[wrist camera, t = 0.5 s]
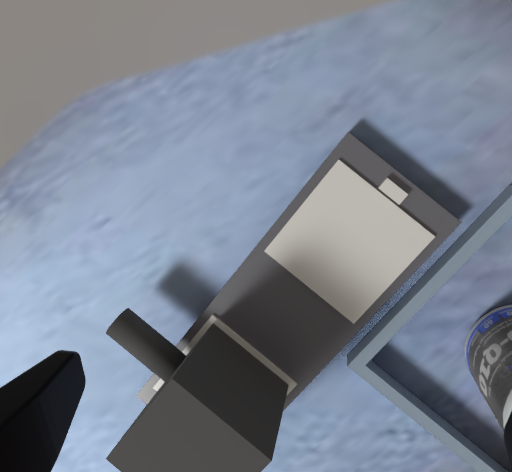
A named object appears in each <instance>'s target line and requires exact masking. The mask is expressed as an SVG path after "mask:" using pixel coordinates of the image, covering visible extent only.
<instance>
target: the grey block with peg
mask: <svg viewBox="0 0 512 472" xmlns="http://www.w3.org/2000/svg"><path fill="white" fill-rule="evenodd" d="M106 334H107V335H109V336H110V337H111V338H112V339H114V340H115V341H116V342H117V343H118V344H120V345H121V346H122V347H123V348H124V349H126V350H127V351H128V352H129V353H130V354H132V355H133V356H134V357H135V358H136V359H138V360H139V361H140V362H141V363H143V364H144V365H145V366H146V367H147V368H149V369H150V370H151V371H152V372H153V373H155V374H156V375H157V376H158V377H159V378H161V379H162V380H163V381H164V384H163V385H162V386H161V387H160V388H159V390H158V391H157V392H156V394H155V395H154V396H153V398H152V399H151V400H150V402H149V403H148V404H147V405H146V407H145V408H144V409H143V411H142V412H141V413H140V415H139V416H138V417H137V419H136V420H135V421H134V423H133V424H132V425H131V426H130V428H129V429H128V430H127V432H126V433H125V434H124V436H123V437H122V438H121V440H120V441H119V442H118V444H117V445H116V446H115V447H114V449H113V450H112V451H111V453H110V454H109V455H108V457H107V458H106V459H107V460H108V461H109V462H110V463H111V464H113V465H114V466H115V467H116V468H117V469H119V470H120V471H121V472H261V471H262V470H263V469H264V468H265V467H266V466H267V465H268V464H269V463H270V462H271V461H272V457H273V453H274V448H275V444H276V439H277V435H278V431H279V426H280V422H281V417H282V413H283V408H284V404H285V400H286V395H287V391H288V386H289V385H288V384H287V383H286V382H285V381H283V380H282V379H281V378H280V377H279V376H277V375H276V374H275V373H274V372H273V371H271V370H270V369H269V368H268V367H266V366H265V365H264V364H263V363H262V362H260V361H259V360H258V359H257V358H255V357H254V356H253V355H252V354H251V353H249V352H248V351H247V350H246V349H244V348H243V347H242V346H241V345H240V344H238V343H237V342H236V341H235V340H233V339H232V338H231V337H230V336H229V335H227V334H226V333H225V332H224V331H222V330H221V329H220V328H219V327H218V326H216V325H215V324H214V323H213V324H212V325H211V326H210V327H209V329H208V330H207V331H206V332H205V333H204V335H203V336H202V337H201V338H200V340H199V341H198V342H197V343H196V344H195V346H194V347H193V348H192V349H191V351H190V352H189V353H188V354H187V355H185V354H184V353H182V352H181V351H180V350H179V349H178V348H176V347H175V346H174V345H173V344H172V343H170V342H169V341H168V340H167V339H165V338H164V337H163V336H162V335H161V334H159V333H158V332H157V331H156V330H155V329H153V328H152V327H151V326H150V325H148V324H147V323H146V322H145V321H144V320H142V319H141V318H140V317H139V316H138V315H136V314H135V313H134V312H133V311H131V310H130V309H129V308H127V309H126V310H125V311H123V312H122V313H121V314H120V315H119V316H118V317H117V318H116V320H115V321H114V322H113V323H112V324H111V326H110V327H109V328H108V330H107V332H106Z"/></svg>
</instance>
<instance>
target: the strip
mask: <svg viewBox="0 0 512 472" xmlns="http://www.w3.org/2000/svg"><path fill="white" fill-rule="evenodd" d="M460 223H461V222H460V221H459V220H458V219H457V218H455V217H454V216H453V215H452V214H450V213H449V212H448V211H447V210H445V209H444V208H443V207H442V206H440V205H439V204H438V203H437V202H435V201H434V200H433V199H432V198H430V197H429V196H428V195H427V194H425V193H424V192H423V191H422V190H420V189H419V188H418V187H417V186H415V185H414V184H413V183H412V182H410V181H409V180H408V179H406V178H405V177H404V176H403V175H401V174H400V173H399V172H398V171H396V170H395V169H394V168H393V167H391V166H390V165H389V164H388V163H386V162H385V161H384V160H383V159H381V158H380V157H379V156H378V155H376V154H375V153H374V152H373V151H371V150H370V149H369V148H368V147H366V146H365V145H364V144H363V143H361V142H360V141H359V140H358V139H356V138H355V137H354V136H353V135H351V134H350V133H349V132H348V133H347V134H346V135H345V137H344V138H343V139H342V140H341V142H340V143H339V144H338V145H337V146H336V148H335V149H334V150H333V151H332V153H331V154H330V155H329V156H328V158H327V159H326V160H325V161H324V163H323V164H322V165H321V166H320V168H319V169H318V170H317V171H316V173H315V174H314V175H313V176H312V178H311V179H310V180H309V181H308V183H307V184H306V185H305V186H304V187H303V189H302V190H301V191H300V192H299V194H298V195H297V196H296V197H295V199H294V200H293V201H292V202H291V204H290V205H289V206H288V207H287V209H286V210H285V211H284V212H283V214H282V215H281V216H280V217H279V219H278V220H277V221H276V222H275V224H274V225H273V226H272V227H271V228H270V230H269V231H268V232H267V233H266V235H265V236H264V237H263V238H262V240H261V241H260V242H259V243H258V245H257V246H256V247H255V248H254V250H253V251H252V252H251V253H250V255H249V256H248V257H247V258H246V260H245V261H244V262H243V263H242V265H241V266H240V267H239V268H238V270H237V271H236V272H235V273H234V274H233V276H232V277H231V278H230V279H229V281H228V282H227V283H226V284H225V286H224V287H223V288H222V289H221V291H220V292H219V293H218V294H217V296H216V297H215V298H214V299H213V301H212V302H211V303H210V304H209V306H208V307H207V308H206V309H205V311H204V312H203V313H202V314H201V315H200V317H199V318H198V319H197V320H196V322H195V323H194V324H193V325H192V327H191V328H190V329H189V330H188V332H187V333H186V334H185V335H184V337H183V338H182V339H181V340H180V342H179V343H178V344H177V345H176V348H178V349H179V350H180V351H181V352H182V353H184V354H185V355H187V354H188V353H189V352H190V351H191V349H192V348H193V347H194V346H195V344H196V343H197V342H198V341H199V340H200V338H201V337H202V336H203V335H204V333H205V332H206V331H207V330H208V329H209V327H210V326H211V325H212V324H213V323H214V324H215V325H216V326H218V327H219V328H220V329H221V330H222V331H224V332H225V333H226V334H227V335H229V336H230V337H231V338H232V339H233V340H235V341H236V342H237V343H238V344H240V345H241V346H242V347H243V348H244V349H246V350H247V351H248V352H249V353H251V354H252V355H253V356H254V357H255V358H257V359H258V360H259V361H260V362H262V363H263V364H264V365H265V366H266V367H268V368H269V369H270V370H271V371H273V372H274V373H275V374H276V375H277V376H279V377H280V378H281V379H282V380H283V381H285V382H286V383H287V384H288V385H289V386H288V391H287V395H286V400H285V404H284V408H283V411H284V410H285V409H286V408H287V406H288V405H289V404H290V403H291V402H292V401H293V400H294V399H295V398H296V397H297V396H298V395H299V394H300V393H301V392H302V391H303V390H304V388H305V387H306V386H307V385H308V384H309V383H310V382H311V381H312V380H313V379H314V378H315V377H316V376H317V375H318V374H319V373H320V372H321V370H322V369H323V368H324V367H325V366H326V365H327V364H328V363H329V362H330V361H331V360H332V359H333V358H334V357H335V356H336V355H337V354H338V352H339V351H340V350H341V349H342V348H343V347H344V346H345V345H346V344H347V343H348V342H349V341H350V340H351V339H352V338H353V337H354V336H355V334H356V333H357V332H358V331H359V330H360V329H361V328H362V327H363V326H364V325H365V324H366V323H367V322H368V321H369V320H370V319H371V318H372V316H373V315H374V314H375V313H376V312H377V311H378V310H379V309H380V308H381V307H382V306H383V305H384V304H385V303H386V302H387V301H388V300H389V298H390V297H391V296H392V295H393V294H394V293H395V292H396V291H397V290H398V289H399V288H400V287H401V286H402V285H403V284H404V283H405V282H406V280H407V279H408V278H409V277H410V276H411V275H412V274H413V273H414V272H415V271H416V270H417V269H418V268H419V267H420V266H421V265H422V264H423V262H424V261H425V260H426V259H427V258H428V257H429V256H430V255H431V254H432V253H433V252H434V251H435V250H436V249H437V248H438V247H439V246H440V244H441V243H442V242H443V241H444V240H445V239H446V238H447V237H448V236H449V235H450V234H451V233H452V232H453V231H454V230H455V229H456V227H457V226H458V225H459V224H460ZM163 384H164V381H163V380H162V379H161V378H159V377H158V376H157V375H156V374H155V373H154V374H153V375H152V376H151V378H150V379H149V380H148V381H147V383H146V384H145V385H144V386H143V388H142V389H141V390H140V391H139V393H138V394H137V395H136V396H137V397H138V398H139V399H140V400H141V401H143V402H144V403H145V404H146V405H147V404H148V403H149V402H150V400H151V399H152V398H153V396H154V395H155V394H156V392H157V391H158V390H159V388H160V387H161V386H162V385H163Z"/></svg>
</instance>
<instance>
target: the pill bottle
mask: <svg viewBox="0 0 512 472" xmlns="http://www.w3.org/2000/svg"><path fill="white" fill-rule="evenodd" d="M465 358H466V362H467V366H468V368H469V370H470V372H471V374H472V376H473V378H474V380H475V382H476V383H477V385H478V387H479V390H480V391H481V393H482V395H483V396H484V398H485V400H486V401H487V403H488V405H489V406H490V408H491V410H492V412H493V414H494V416H495V418H496V420H497V421H498V423H499V425H500V427H501V428H502V430H503V432H504V428H505V425H506V423H507V420H508V418H509V415H510V413H511V411H512V305H507V306H503V307H499V308H496V309H494V310H492V311H490V312H489V313H487V314H486V315H484V316H483V317H482V318H480V319H479V320H478V321H477V322H476V323H475V325H474V326H473V327H472V329H471V330H470V332H469V334H468V336H467V338H466V342H465Z"/></svg>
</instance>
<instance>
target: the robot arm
mask: <svg viewBox="0 0 512 472" xmlns="http://www.w3.org/2000/svg"><path fill="white" fill-rule="evenodd" d="M84 388H85V375H84V371H83V366H82V362H81V358H80V355H79V354H78V353H77V352H74V351H65V350H59V351H57V352H55V353H53V354H52V355H50V356H49V357H47V358H46V359H44V360H43V361H41V362H40V363H38V364H36V365H35V366H33V367H32V368H30V369H29V370H27V371H26V372H24V373H23V374H21V375H19V376H18V377H16V378H15V379H13V380H12V381H10V382H9V383H7V384H6V385H4V386H2V387H1V388H0V472H51V470H52V468H53V466H54V464H55V462H56V460H57V458H58V455H59V453H60V451H61V448H62V446H63V443H64V441H65V438H66V435H67V433H68V430H69V428H70V425H71V422H72V420H73V417H74V415H75V412H76V409H77V407H78V404H79V401H80V399H81V396H82V394H83V391H84ZM504 441H505V446H506V451H507V455H508V460H509V465H510V469H511V472H512V411H511V413H510V415H509V418H508V420H507V423H506V425H505V428H504Z"/></svg>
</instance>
